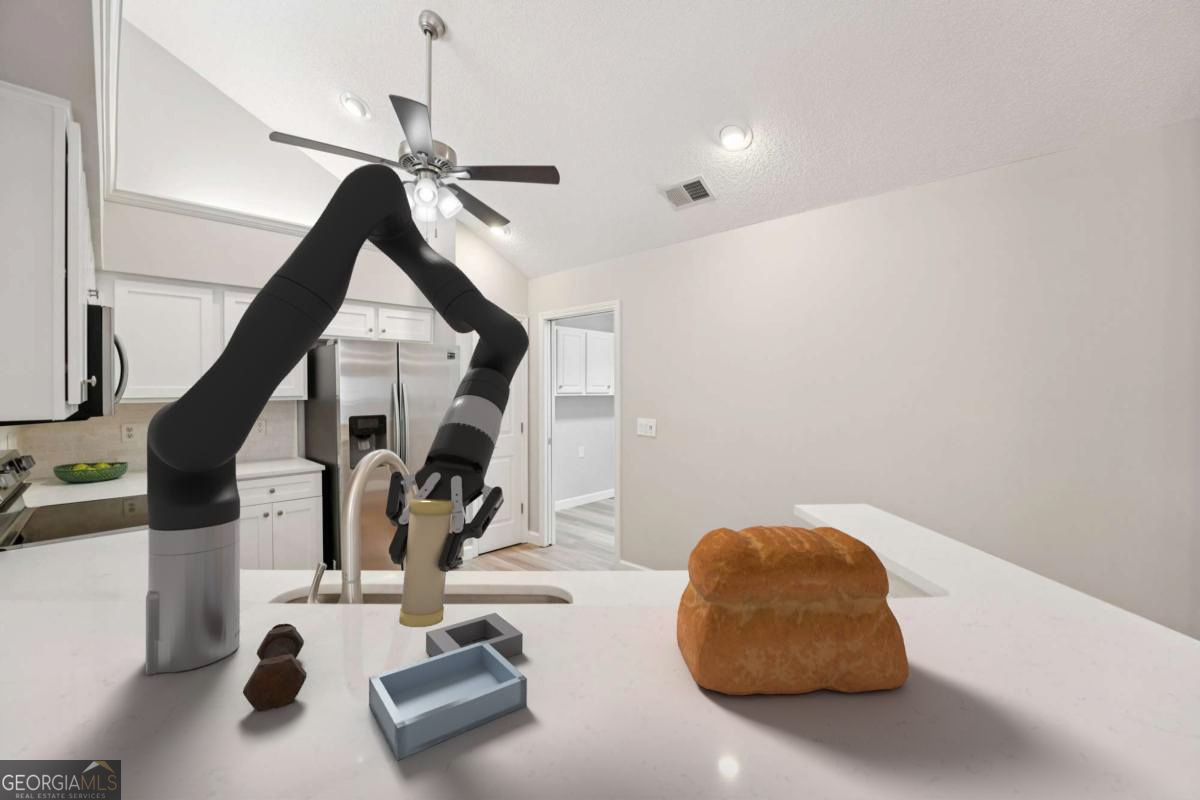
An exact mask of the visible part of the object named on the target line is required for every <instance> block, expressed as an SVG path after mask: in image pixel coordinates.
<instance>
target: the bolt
mask: <svg viewBox="0 0 1200 800" xmlns="http://www.w3.org/2000/svg"><path fill="white" fill-rule="evenodd" d="M304 643H305V640H304V639H303V637H302V636H301V634H300V632H299V631H298V630H297V627H296V626H294V625H292V624H291V623H278V624H276V625H274V626H273V627H272V628H271V629H269V631H268V632H267V633H266V634H265V636H264V638H263V640H262V641H261V643H260V645H259V647H258V649H257V651H256V655H257V657H258V658H259V662H258V663H257V665H256V667H255V669H254V670H253V671H252V673H251V675H250V677H248V678H249V679H248V680H247V682H246V683H245V685H244V687H243V689H242V694H243V696H244V697H245V699H246V700H247V701H248V703H249V704H250V705H251V707H252V708H253V709H254V710H255V711H256V712H267V711H268V712H269V711H272V710H276V709H280V708H283V707H286V706H288V705H290V703H291V704H292V703H294V701H295V700H296V698H297V696H298V695H299V693H300V691H301V690H302V687H303V686H304V684H305V681H306V679H307V676H308V674H307V672H306V670H305V669H304V668H303V666H302V665H301V664H300V662H299V661H298V660H297V659H296V658H298V656H299V654H300V652H301V650H302V648H303V647H304V645H305V644H304Z"/></svg>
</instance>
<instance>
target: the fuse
mask: <svg viewBox="0 0 1200 800" xmlns="http://www.w3.org/2000/svg"><path fill="white" fill-rule="evenodd" d="M452 504H453V501H451V500H441V499H413V498H411V499H410V500H409V506H408V507H409V512H410V516H409V527H408V538H407V550H406V556H405V560H404V563H405V564H404V574H403V585H402V596H401V607H400V610H399V620H398V623H399V624H400V625H402V626H403V627H408V628H427V627H431V626H436V625H438V624H440V623H442V622H443V621H444V613H445V607H444V601H445V591H446V589H445V588H446V579H447V578H446V577H447V572H443V571H440V569H439V566H438V564H439V560H440V557H441V554H442V551H443V549H444V546H445V543H446V540H447V537H448V534H449V533H450V528H451V518H452V517H451V516H452V513H451V512H452Z"/></svg>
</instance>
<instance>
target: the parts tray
mask: <svg viewBox="0 0 1200 800" xmlns="http://www.w3.org/2000/svg"><path fill="white" fill-rule="evenodd" d="M486 641H487V640H483V641H482V640H481V641H479V642H476V643H472V644H470V645H466V646H464V647H461V648H459V649H456V650H453V651H450V652H447V653H444V654H440V655H437V656H434V657H431V656H430V657H428V658H425V659H422V660H418V661H416V662H413V663H409V664H406V665H403V666H399V667H396V668H393V669H390V670H386V671H384V672H380V673H378V674H377V673H376V674H375V675H374V674H373V675H371V676H369V677H368V706H369V708H370V710H371V712H372V713H373V715H374V717H375V719H376V721H377V723H378V724H379V727H380V729H381V731H382V733H383V735H384V736H385V739H386V740H387V741H386V742H387V743H388V745H389V746H390V748H391V751H392V753H393V754H394V757H395V759H396V761H399V760H402V759H405V758H407V757H410V756H412V755H413V754H416V753H419V752H420V751H423V750H426V749H427V748H430V747H433V746H435V745H438V744H440V743H442V742H444V741H447V740H449V739H451V738H454V737H456V736H459V735H461V734H464V733H466V732H468V731H471V730H473V729H475V728H477V727H479V726H480V727H481V726H482V725H485V724H487V723H490V722H492V721H494V720H497V719H499V718H501V717H503V716H505V715H509V714H511V713H513V712H516V711H517V710H519V709H522V708H525V707H527V705H528V702H527V701H528V700H527V699H528V698H527V697H528V678H527V677H526V676H525V675H524V674H523V673H522V672H520V670H519V669H517V667H515V666H514V665H513V664H512V663H511V662H509V660H508V659H507V658H504V657H503V656H502V655H501V654H499V653H498V652H497V651H496V650H495V649H494V648H493V647H492V646H491V645H489V644H488V643H487V642H486Z"/></svg>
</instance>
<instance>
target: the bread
mask: <svg viewBox="0 0 1200 800" xmlns="http://www.w3.org/2000/svg"><path fill="white" fill-rule="evenodd" d="M687 562H688V563H687V571H688V578H689V580H688V583H687V584H686V587H685V589H684V590H683V592H682V595H681V597H680V601H679V606H678V609H677V618H676V643H677V647H678V650H679V652H680V653H681V656H682V658H683V660H684V663H685V664H686V666H687V668H688V670H689V671H690V673H691V675H692V679H693V681H694V682H696V683H697V684H698V685H699V686H701V687H702V688H705V689H707V690H711V691H716V692H719V693H722V694H725V695H727V696H746V695H753V694H754V695H755V694H761V695H762V694H764V695H775V694H776V695H777V694H784V695H795V694H796V695H797V694H798V695H799V694H803V693H804V694H805V693H810V692H814V691H818V690H823V689H827V690H830V691H836V692H842V693H849V694H852V693H859V692H867V691H877V690H891V689H896V688H898V687H900V686H903V684H905V683H906V681H907V679H908V677H909V675H910V673H909V671H910V670H909V669H910V667H909V661H908V660H909V659H908V656H907V651H906V646H905V641H904V635H903V632H902V629H901V626H900V624H899V622H898V620H897V618H896V616H895V614H894V613H893V611H892V609H891V608H890V606H889V604H888V600H887V598H888V597H887V596H888V595H889V593H890V584H889V578H888V573H887V569H886V567H885V566H884V564H883V563H882V561H881V559H880V558H879V556H878V555H877V554H876V552H875V551H874V550H873V549H872V548H871V547H870V546H869V545H868V544H866V543H865V542H863V541H862V540H860V539H858V538H856V537H853V535H850V534H848V533H846V532H844V531H842V530H839V529H837V528H835V527H832V526H819V527H816V528H811V529H808V528H804V527H798V526H788V525H780V526H765V525H764V526H763V525H756V526H749V527H746V528H743V529H741V530H737V531H736V530H733V529H731V528H728V527H721V528H716V529H712V530H709V532H707V533H706V534H704V535H703V536H702V537H701V538H700V540H699V541H698V542H697V544H696V545H695V547H694V548H693V549H692V550H691V552H690V553H689V559H688V561H687Z"/></svg>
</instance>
